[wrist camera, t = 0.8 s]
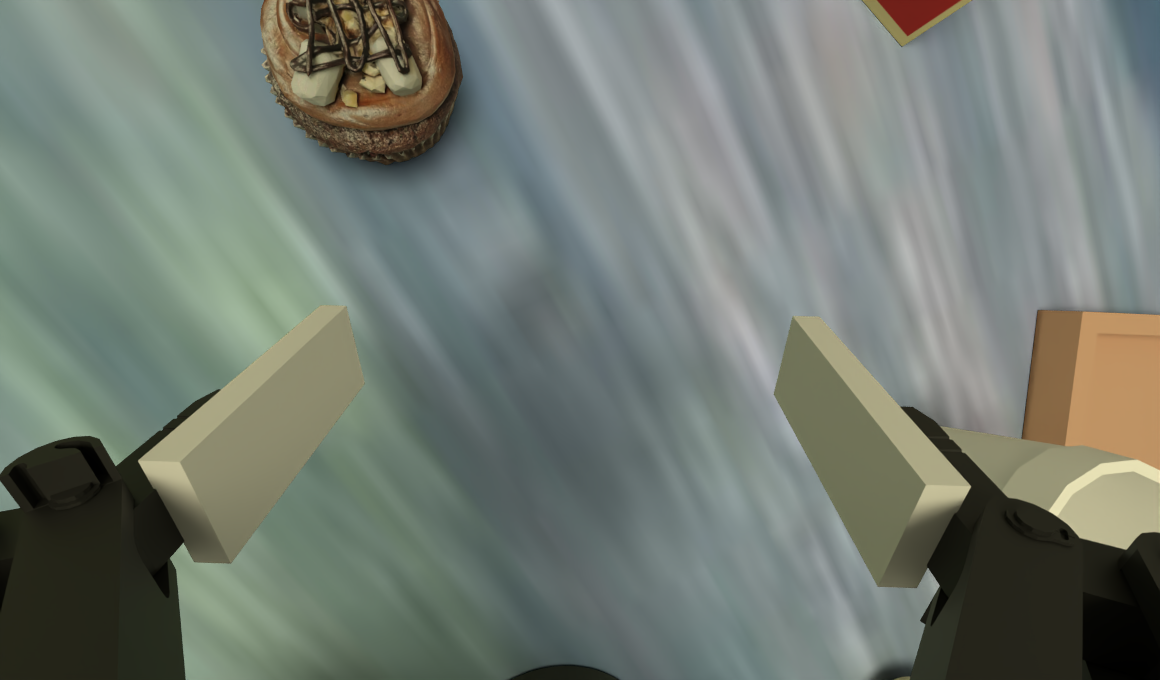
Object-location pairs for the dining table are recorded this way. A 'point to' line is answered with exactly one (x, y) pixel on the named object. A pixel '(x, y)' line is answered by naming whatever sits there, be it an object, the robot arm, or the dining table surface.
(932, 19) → the milk carton
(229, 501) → the robot arm
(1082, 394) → the tray
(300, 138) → the dining table surface
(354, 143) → the cupcake
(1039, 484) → the foam cup
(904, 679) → the beige ball
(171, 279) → the dining table surface
